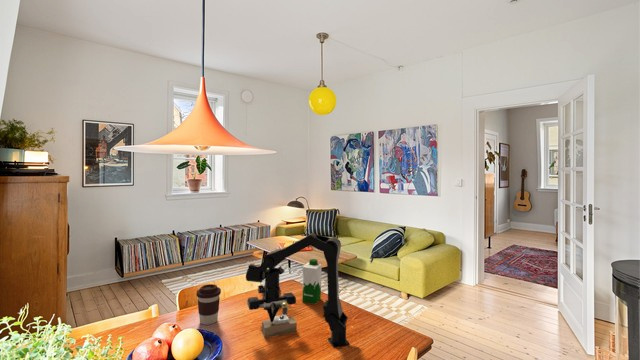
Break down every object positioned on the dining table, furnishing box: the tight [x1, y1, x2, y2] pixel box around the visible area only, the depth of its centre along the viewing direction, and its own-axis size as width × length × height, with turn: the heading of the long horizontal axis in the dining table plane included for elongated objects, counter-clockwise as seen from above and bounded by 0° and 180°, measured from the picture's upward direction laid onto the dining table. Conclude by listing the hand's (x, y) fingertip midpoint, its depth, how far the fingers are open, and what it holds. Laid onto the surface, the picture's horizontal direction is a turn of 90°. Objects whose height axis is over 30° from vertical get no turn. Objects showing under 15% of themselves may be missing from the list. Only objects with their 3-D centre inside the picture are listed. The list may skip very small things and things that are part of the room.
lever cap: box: [273, 314, 289, 325], centre depth 132 cm, size 4×6×2 cm
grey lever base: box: [261, 308, 298, 339], centre depth 135 cm, size 12×13×6 cm
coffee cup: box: [195, 283, 222, 326], centre depth 140 cm, size 10×10×15 cm
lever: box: [258, 301, 290, 309], centre depth 140 cm, size 14×4×2 cm, turn 94°
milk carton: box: [301, 258, 323, 305], centre depth 163 cm, size 9×9×20 cm
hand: (271, 321), depth 131 cm, fingers closed
